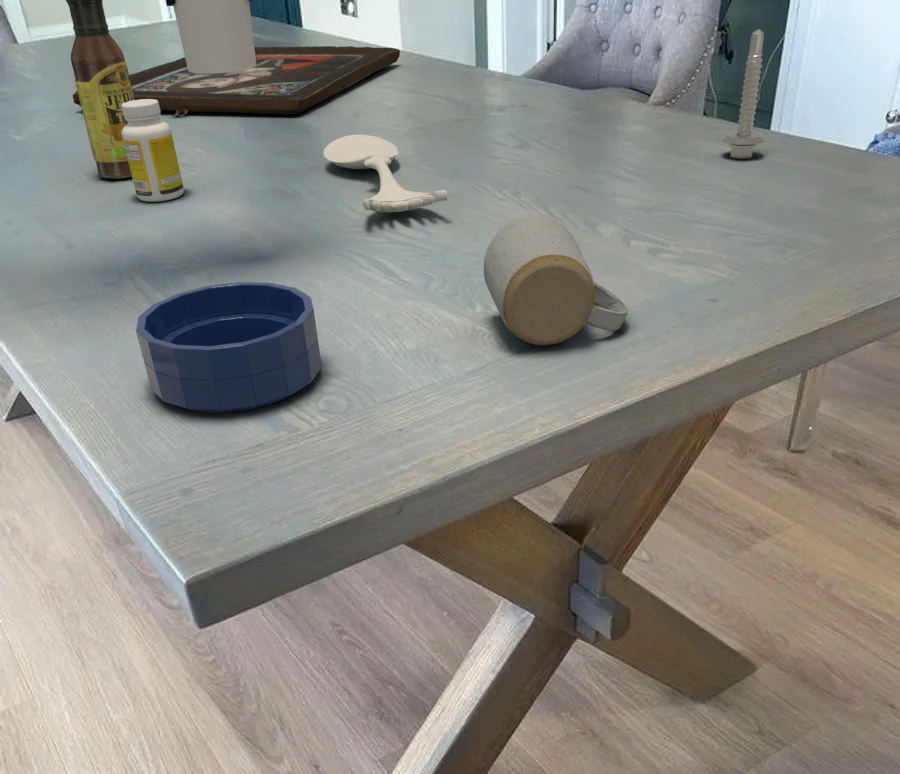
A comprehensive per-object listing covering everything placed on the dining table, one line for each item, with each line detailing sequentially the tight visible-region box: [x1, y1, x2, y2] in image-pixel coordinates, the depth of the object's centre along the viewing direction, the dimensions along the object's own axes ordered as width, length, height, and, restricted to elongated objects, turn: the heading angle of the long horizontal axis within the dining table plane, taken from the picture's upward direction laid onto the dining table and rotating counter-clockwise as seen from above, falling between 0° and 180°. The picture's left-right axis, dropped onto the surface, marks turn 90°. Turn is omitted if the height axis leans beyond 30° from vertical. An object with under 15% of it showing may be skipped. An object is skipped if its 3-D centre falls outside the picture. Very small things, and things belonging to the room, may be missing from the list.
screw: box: [721, 28, 766, 160], centre depth 107 cm, size 13×5×5 cm
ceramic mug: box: [483, 214, 629, 346], centre depth 71 cm, size 11×8×8 cm
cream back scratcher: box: [323, 134, 449, 213], centre depth 106 cm, size 9×32×4 cm, turn 15°
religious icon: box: [72, 45, 401, 116], centre depth 159 cm, size 40×45×3 cm
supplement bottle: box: [121, 99, 185, 203], centre depth 106 cm, size 5×5×10 cm
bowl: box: [135, 281, 323, 413], centre depth 67 cm, size 12×12×5 cm
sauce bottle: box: [65, 0, 134, 179], centre depth 111 cm, size 6×6×20 cm
